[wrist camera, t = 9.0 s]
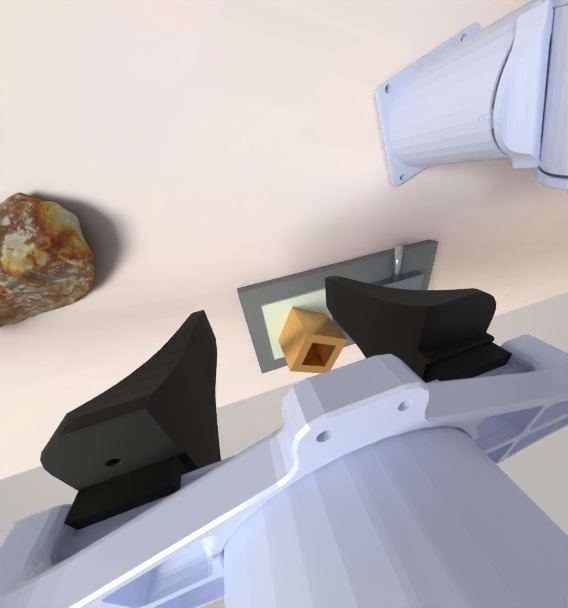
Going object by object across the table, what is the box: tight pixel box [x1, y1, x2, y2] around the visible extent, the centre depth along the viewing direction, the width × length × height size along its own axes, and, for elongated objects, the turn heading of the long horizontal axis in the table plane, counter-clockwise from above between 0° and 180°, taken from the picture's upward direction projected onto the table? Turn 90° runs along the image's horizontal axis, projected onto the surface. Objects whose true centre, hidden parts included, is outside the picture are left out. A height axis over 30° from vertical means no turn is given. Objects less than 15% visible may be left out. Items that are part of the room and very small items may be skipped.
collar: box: [278, 307, 347, 373], centre depth 23 cm, size 5×5×5 cm
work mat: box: [237, 240, 438, 373], centre depth 27 cm, size 24×12×2 cm, turn 99°
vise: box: [369, 245, 424, 290], centre depth 24 cm, size 7×10×4 cm
